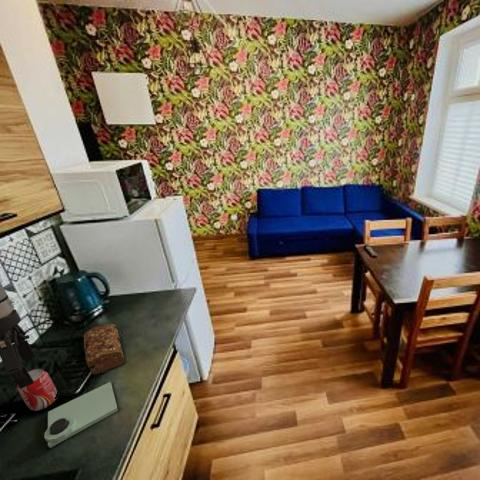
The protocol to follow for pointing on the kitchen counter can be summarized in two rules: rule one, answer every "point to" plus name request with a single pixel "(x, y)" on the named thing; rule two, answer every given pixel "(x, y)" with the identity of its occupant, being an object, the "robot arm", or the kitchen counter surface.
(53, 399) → the soda can
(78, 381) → the kitchen counter surface
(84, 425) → the scale
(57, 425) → the button
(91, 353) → the bread
